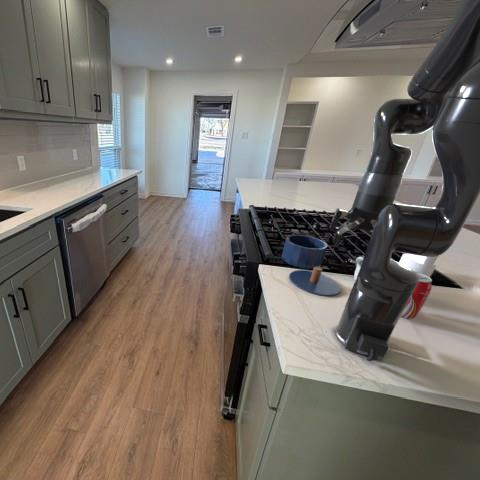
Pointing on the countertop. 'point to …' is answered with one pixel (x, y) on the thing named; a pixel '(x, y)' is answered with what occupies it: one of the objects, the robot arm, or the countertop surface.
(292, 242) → the pot
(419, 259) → the cylinder with rectangular tab
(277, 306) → the countertop surface
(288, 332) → the countertop surface
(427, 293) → the soda can
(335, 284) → the pot lid
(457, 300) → the countertop surface
